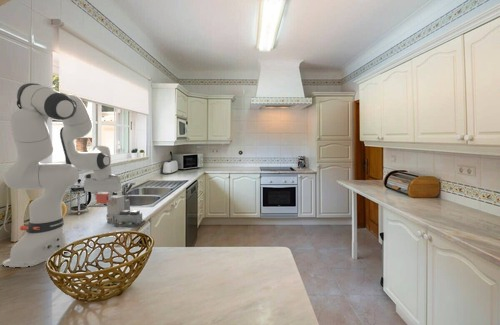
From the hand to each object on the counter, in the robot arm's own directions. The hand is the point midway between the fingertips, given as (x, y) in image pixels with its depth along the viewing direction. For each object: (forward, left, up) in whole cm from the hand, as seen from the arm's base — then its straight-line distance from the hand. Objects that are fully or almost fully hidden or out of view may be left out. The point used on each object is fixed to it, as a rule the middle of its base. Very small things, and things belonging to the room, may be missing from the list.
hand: (103, 199), depth 143 cm
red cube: (0, 0, -2) cm, 2 cm away
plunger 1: (+9, -7, -15) cm, 18 cm away
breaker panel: (+9, -10, -16) cm, 21 cm away
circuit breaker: (+17, +2, -16) cm, 23 cm away
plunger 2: (+9, -13, -15) cm, 22 cm away
